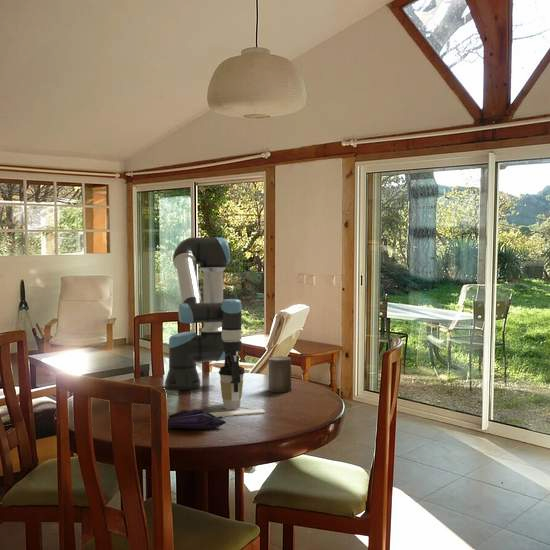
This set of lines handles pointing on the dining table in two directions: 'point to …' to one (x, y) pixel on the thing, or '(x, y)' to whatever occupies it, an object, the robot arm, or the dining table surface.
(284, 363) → the pillar candle
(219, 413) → the cream flat slat
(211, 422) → the crystal
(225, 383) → the coffee cup
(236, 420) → the dining table surface
